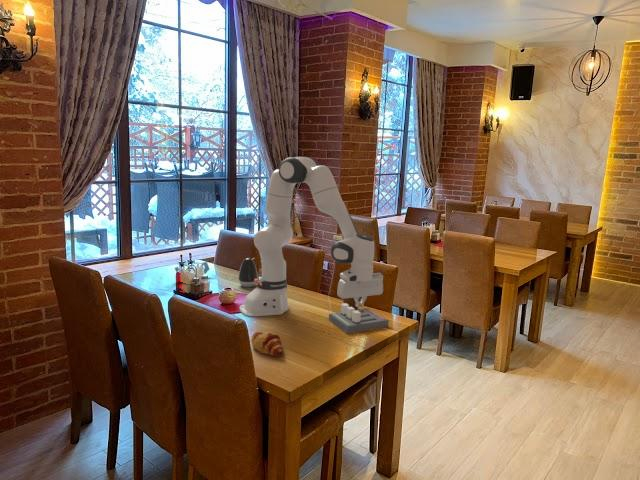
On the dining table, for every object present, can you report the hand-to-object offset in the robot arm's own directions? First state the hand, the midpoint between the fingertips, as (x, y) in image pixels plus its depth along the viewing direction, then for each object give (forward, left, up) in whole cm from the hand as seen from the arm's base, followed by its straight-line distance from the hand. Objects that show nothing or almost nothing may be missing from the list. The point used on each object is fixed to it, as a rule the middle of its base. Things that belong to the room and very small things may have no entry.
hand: (359, 306), depth 198 cm
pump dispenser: (-24, +74, -10) cm, 78 cm away
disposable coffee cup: (+9, +22, -10) cm, 25 cm away
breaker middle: (-1, +5, -6) cm, 8 cm away
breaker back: (-1, +10, -6) cm, 11 cm away
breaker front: (-1, 0, -6) cm, 6 cm away
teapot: (-49, +96, -10) cm, 108 cm away
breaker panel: (+3, +5, -10) cm, 11 cm away
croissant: (-42, -5, -10) cm, 43 cm away
